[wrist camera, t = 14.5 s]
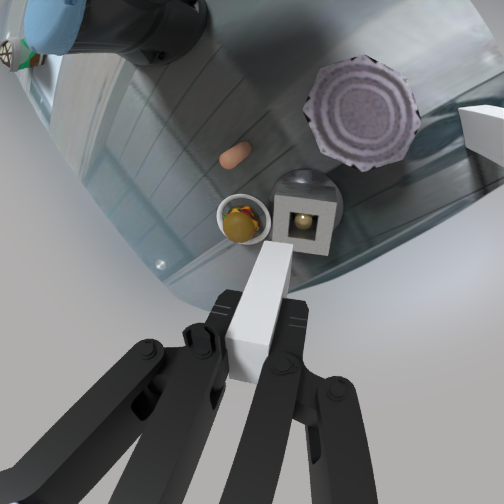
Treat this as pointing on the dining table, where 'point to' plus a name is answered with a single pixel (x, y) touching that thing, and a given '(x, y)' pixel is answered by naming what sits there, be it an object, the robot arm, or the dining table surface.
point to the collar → (307, 202)
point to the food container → (19, 54)
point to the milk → (484, 131)
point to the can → (362, 113)
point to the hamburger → (242, 221)
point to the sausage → (235, 155)
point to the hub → (311, 178)
